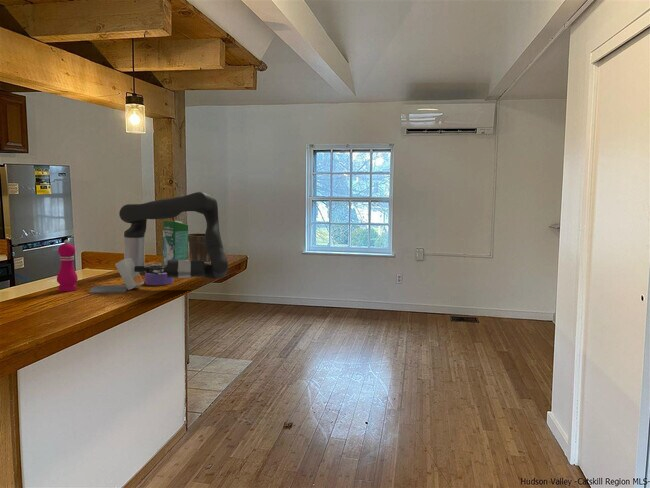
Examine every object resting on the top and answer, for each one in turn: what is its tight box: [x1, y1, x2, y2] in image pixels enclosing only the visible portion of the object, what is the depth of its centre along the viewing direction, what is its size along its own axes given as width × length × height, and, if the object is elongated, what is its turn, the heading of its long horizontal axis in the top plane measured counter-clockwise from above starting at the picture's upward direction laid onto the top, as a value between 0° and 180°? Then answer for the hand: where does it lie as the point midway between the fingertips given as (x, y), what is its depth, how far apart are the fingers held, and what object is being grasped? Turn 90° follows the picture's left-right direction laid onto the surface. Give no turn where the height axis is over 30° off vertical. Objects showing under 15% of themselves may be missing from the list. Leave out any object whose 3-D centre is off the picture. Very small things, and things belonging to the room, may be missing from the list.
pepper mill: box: [56, 239, 78, 292], centre depth 185 cm, size 7×7×20 cm
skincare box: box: [114, 258, 145, 291], centre depth 192 cm, size 6×4×12 cm
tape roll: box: [144, 272, 175, 286], centre depth 207 cm, size 12×12×5 cm
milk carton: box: [162, 219, 189, 265], centre depth 246 cm, size 9×9×25 cm
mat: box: [88, 284, 128, 294], centre depth 189 cm, size 12×13×1 cm
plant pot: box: [188, 232, 210, 262], centre depth 267 cm, size 16×16×16 cm
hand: (134, 268), depth 191 cm, fingers closed
